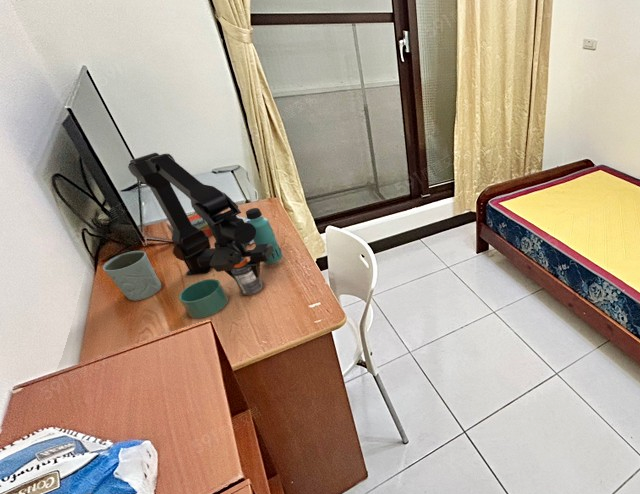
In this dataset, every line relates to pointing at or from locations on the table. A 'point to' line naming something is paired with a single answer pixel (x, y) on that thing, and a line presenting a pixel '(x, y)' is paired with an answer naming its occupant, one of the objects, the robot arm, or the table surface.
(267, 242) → the beverage bottle
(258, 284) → the pill bottle
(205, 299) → the green bowl
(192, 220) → the medicine box
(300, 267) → the table surface
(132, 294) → the grey green planter pot
